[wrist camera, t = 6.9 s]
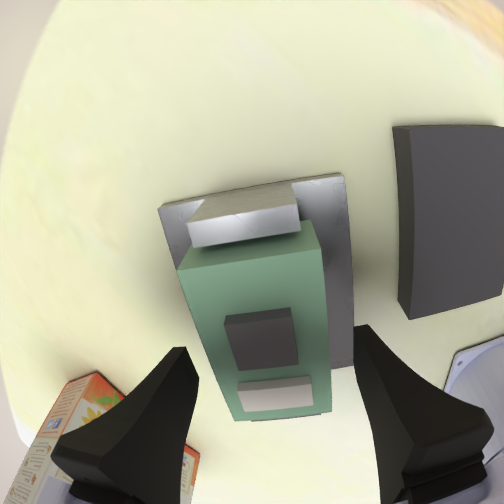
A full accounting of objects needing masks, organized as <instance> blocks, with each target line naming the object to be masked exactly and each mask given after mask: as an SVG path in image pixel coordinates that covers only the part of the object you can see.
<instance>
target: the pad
mask: <svg viewBox="0 0 504 504" xmlns="http://www.w3.org/2000/svg"><path fill="white" fill-rule="evenodd" d="M392 129H393V137H394V146H395V155H396V166H397V179H398V196H399V225H400V258H399V287H398V302H399V304H400V305H401V307H402V309H403V311H404V312H405V314H406V316H407V318H408V319H409V320H412V319H416V318H420V317H425V316H429V315H433V314H437V313H441V312H444V311H448V310H452V309H456V308H459V307H463V306H466V305H470V304H473V303H477V302H480V301H484V300H487V299H490V298H493V297H496V296H500V295H501V293H502V289H503V285H504V127H500V126H492V125H419V126H398V127H392Z"/></svg>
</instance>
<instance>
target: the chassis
mask: <svg viewBox="0 0 504 504" xmlns="http://www.w3.org/2000/svg"><path fill="white" fill-rule="evenodd" d="M158 212H159V216H160V219H161V223H162V226H163V229H164V233H165V236H166V239H167V242H168V246H169V249H170V252H171V255H172V258H173V261H174V264H175V267H176V270H177V269H178V267H179V265H180V263H181V262H182V260H183V258H184V257H185V255H186V253H187V251H188V250H189V248H190V246H191V245H193V248H198V247H204V246H210V245H216V244H222V243H228V242H234V241H241V240H247V239H253V238H259V237H265V236H272V235H278V234H284V233H290V232H297V231H301V227H300V221H304V220H311V223H312V225H313V228H314V231H315V234H316V236H317V239H318V242H319V245H320V248H321V254H322V263H323V273H324V283H325V294H326V306H327V318H328V332H329V348H330V367H331V369H337V368H343V367H348V366H353V364H354V363H353V327H354V305H353V276H352V257H351V242H350V229H349V217H348V207H347V197H346V188H345V179H344V175H343V174H341V173H334V174H327V175H320V176H313V177H306V178H300V179H293V180H287V181H281V182H275V183H269V184H263V185H257V186H252V187H246V188H241V189H235V190H230V191H225V192H220V193H215V194H210V195H205V196H200V197H195V198H190V199H186V200H181V201H176V202H172V203H167V204H163V205H162V206H160V207H159V208H158ZM314 415H321V413H320V414H313V415H305V416H297V417H288V418H277V419H265V420H251V422H252V421H267V420H279V419H289V418H298V417H306V416H314Z"/></svg>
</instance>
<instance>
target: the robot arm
mask: <svg viewBox="0 0 504 504" xmlns="http://www.w3.org/2000/svg"><path fill="white" fill-rule="evenodd" d="M353 363H354V369H355V374H356V379H357V383H358V386H359V389H360V392H361V396H362V399H363V402H364V405H365V408H366V411H367V415H368V418H369V421H370V425H371V429H372V434H373V440H374V446H375V453H376V460H377V467H378V476H379V486H380V500H381V504H504V336H502V337H500V338H497V339H494V340H492V341H489V342H486V343H484V344H481V345H478V346H475V347H472V348H469V349H466V350H463V351H460V352H459V353H457V354H456V356H455V358H454V361H453V364H452V367H451V371H450V374H449V377H448V380H447V383H446V385H445V388H444V391H442V390H441V389H439V388H437V387H435V386H434V385H432V384H431V383H429V382H428V381H426V380H425V379H424V378H422V377H421V376H419V375H418V374H417V373H416V372H414V371H413V370H412V369H411V368H410V367H408V366H407V365H406V364H405V363H404V362H403V361H402V360H401V359H400V358H398V357H397V356H396V355H395V354H394V353H393V352H392V351H391V350H390V349H389V348H388V346H387V345H386V344H385V343H384V342H383V341H382V340H381V339H380V338H379V337H378V335H377V334H376V333H375V332H374V331H373V329H372V328H371V327H370V326H369V325H368V324H366V325H361V326H355V327H353ZM198 386H199V376H198V374H197V372H196V369H195V367H194V365H193V363H192V360H191V358H190V356H189V353H188V351H187V349H186V347H173V348H172V349H171V350H170V351H169V352H168V353H167V355H166V356H165V357H164V358H163V359H162V360H161V361H160V362H159V364H158V365H157V366H156V367H155V368H154V369H153V370H152V371H151V372H150V373H149V375H148V376H147V377H146V378H145V379H144V380H143V381H142V382H141V383H140V384H139V385H138V386H137V387H136V388H135V389H134V390H133V391H132V392H131V393H130V394H128V395H127V396H126V397H125V398H124V399H123V400H121V401H120V402H119V403H118V404H116V405H115V406H114V407H112V408H111V409H109V410H108V411H107V412H105V413H104V414H102V415H101V416H99V417H98V418H96V419H94V420H93V421H91V422H89V423H87V424H85V425H83V426H81V427H79V428H77V429H75V430H73V431H70V432H68V433H65V434H63V435H60V437H59V439H58V441H57V443H56V445H55V447H54V449H53V451H52V453H51V455H50V457H51V460H52V461H53V462H54V463H55V464H56V465H57V466H58V467H59V468H60V469H61V470H62V471H63V472H65V473H66V474H67V475H68V476H69V477H71V478H72V479H73V483H72V484H70V483H68V482H66V481H64V480H61V479H59V478H56V477H54V476H51V475H49V476H48V478H47V481H46V483H45V485H44V487H43V489H42V492H41V494H40V496H39V499H38V501H37V503H36V504H180V492H181V474H182V464H183V455H184V448H185V442H186V437H187V434H188V430H189V426H190V422H191V419H192V415H193V411H194V407H195V404H196V400H197V394H198Z"/></svg>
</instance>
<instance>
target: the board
mask: <svg viewBox="0 0 504 504" xmlns="http://www.w3.org/2000/svg"><path fill="white" fill-rule="evenodd" d="M300 227H301V231H297V232H290V233H284V234H278V235H272V236H265V237H259V238H253V239H247V240H241V241H234V242H228V243H222V244H216V245H210V246H204V247H198V248H193V245H191V246H190V248H189V250H188V251H187V253H186V255H185V257H184V258H183V260H182V262H181V263H180V265H179V267H178V269H177V270H176V272H177V275H178V278H179V280H180V283H181V286H182V289H183V292H184V295H185V298H186V301H187V304H188V306H189V309H190V312H191V315H192V317H193V320H194V323H195V326H196V328H197V331H198V334H199V336H200V339H201V342H202V344H203V347H204V349H205V352H206V354H207V357H208V359H209V362H210V365H211V367H212V369H213V372H214V374H215V377H216V379H217V382H218V384H219V386H220V389H221V391H222V394H223V396H224V398H225V401H226V403H227V405H228V408H229V410H230V412H231V414H232V417H233V419H234V421H250V420H265V419H277V418H288V417H297V416H305V415H313V414H320V413H327V412H332V391H331V367H330V348H329V332H328V318H327V306H326V294H325V283H324V273H323V263H322V254H321V248H320V245H319V242H318V239H317V236H316V234H315V231H314V228H313V225H312V223H311V220H304V221H300Z"/></svg>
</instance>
